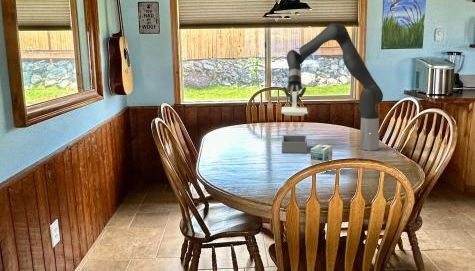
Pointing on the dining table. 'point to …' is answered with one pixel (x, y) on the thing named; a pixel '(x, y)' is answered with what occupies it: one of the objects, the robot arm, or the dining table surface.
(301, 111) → the lid
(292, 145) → the tub
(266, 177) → the dining table surface
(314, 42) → the robot arm
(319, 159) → the light bulb box
